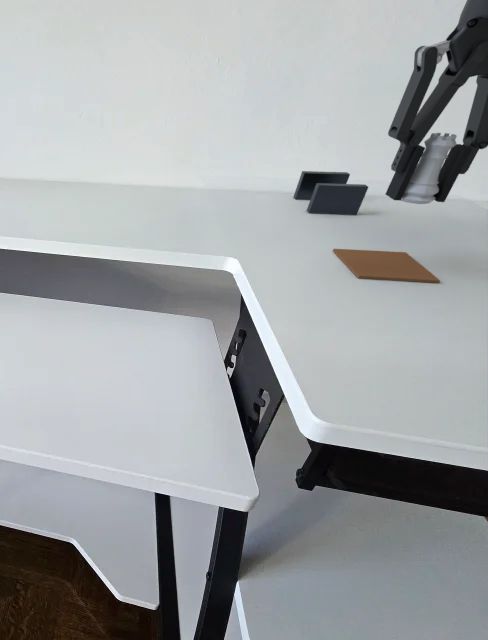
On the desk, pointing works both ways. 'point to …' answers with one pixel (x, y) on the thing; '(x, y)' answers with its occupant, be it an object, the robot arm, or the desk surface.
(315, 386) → the desk surface
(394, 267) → the mat
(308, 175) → the stand
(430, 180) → the rook chess piece
